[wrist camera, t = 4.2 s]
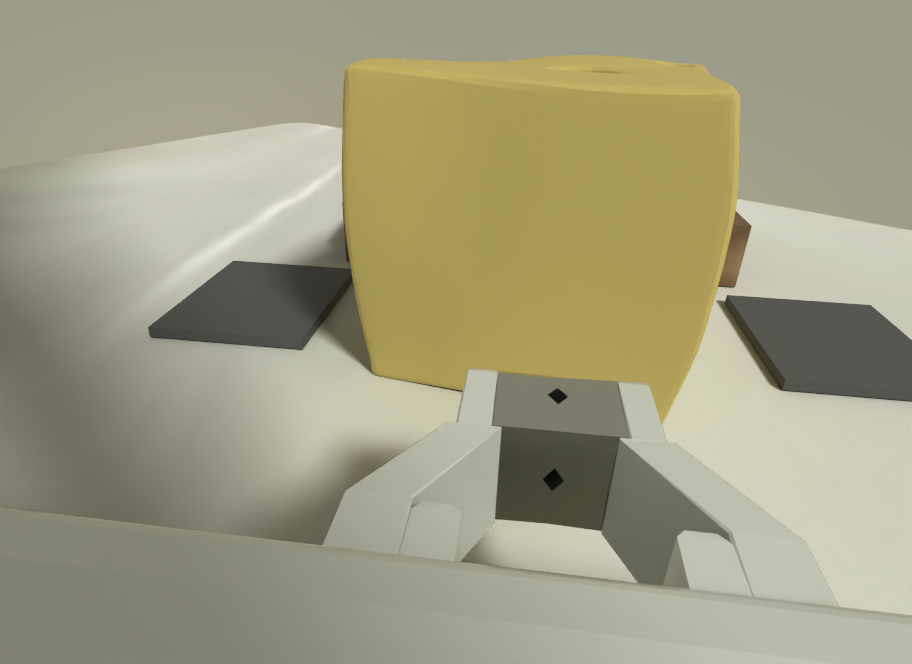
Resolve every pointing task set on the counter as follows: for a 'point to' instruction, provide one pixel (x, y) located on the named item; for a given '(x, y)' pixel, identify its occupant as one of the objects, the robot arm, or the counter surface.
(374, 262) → the cheese
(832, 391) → the pads
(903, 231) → the counter surface
